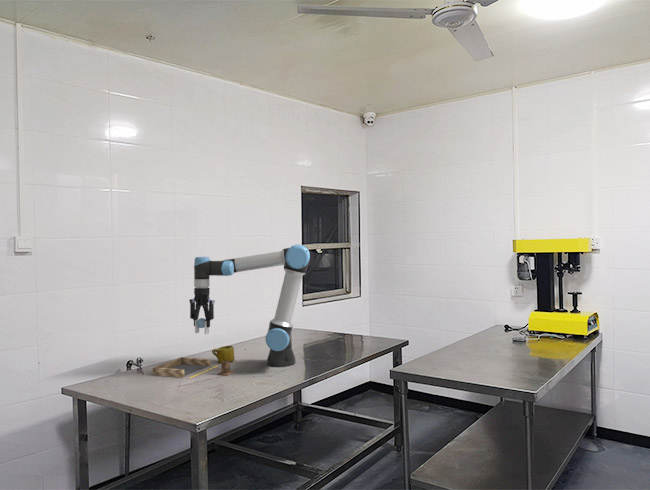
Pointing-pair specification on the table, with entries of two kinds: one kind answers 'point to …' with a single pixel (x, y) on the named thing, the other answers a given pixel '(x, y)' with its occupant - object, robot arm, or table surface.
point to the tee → (225, 368)
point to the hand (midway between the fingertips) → (201, 333)
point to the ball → (201, 323)
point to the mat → (189, 368)
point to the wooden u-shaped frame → (165, 368)
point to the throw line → (203, 372)
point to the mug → (224, 353)
